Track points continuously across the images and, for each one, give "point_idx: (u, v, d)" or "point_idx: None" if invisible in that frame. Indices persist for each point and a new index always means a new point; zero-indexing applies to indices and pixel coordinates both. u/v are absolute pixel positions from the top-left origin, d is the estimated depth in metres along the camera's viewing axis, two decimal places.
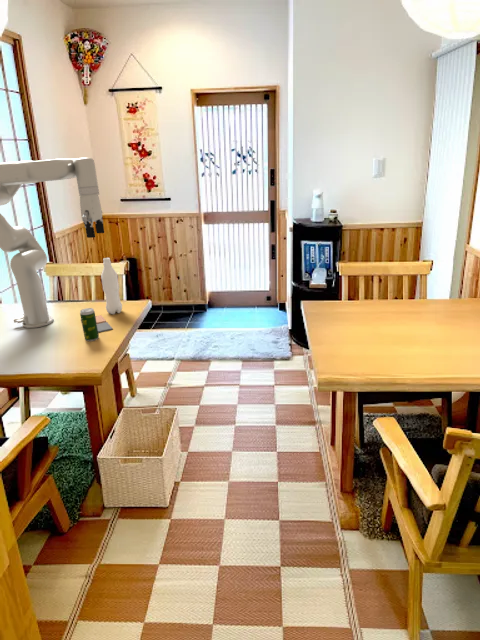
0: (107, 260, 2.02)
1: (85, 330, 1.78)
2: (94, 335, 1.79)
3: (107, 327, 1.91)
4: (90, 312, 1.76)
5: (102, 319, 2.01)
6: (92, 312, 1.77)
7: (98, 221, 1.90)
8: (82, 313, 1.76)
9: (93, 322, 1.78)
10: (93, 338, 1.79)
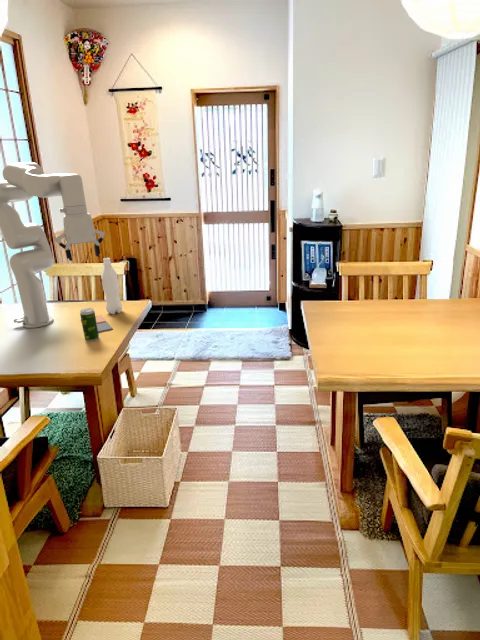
0: (107, 260, 2.02)
1: (85, 330, 1.78)
2: (94, 335, 1.79)
3: (107, 327, 1.91)
4: (90, 312, 1.76)
5: (102, 319, 2.01)
6: (92, 312, 1.77)
7: None
8: (82, 313, 1.76)
9: (93, 322, 1.78)
10: (93, 338, 1.79)
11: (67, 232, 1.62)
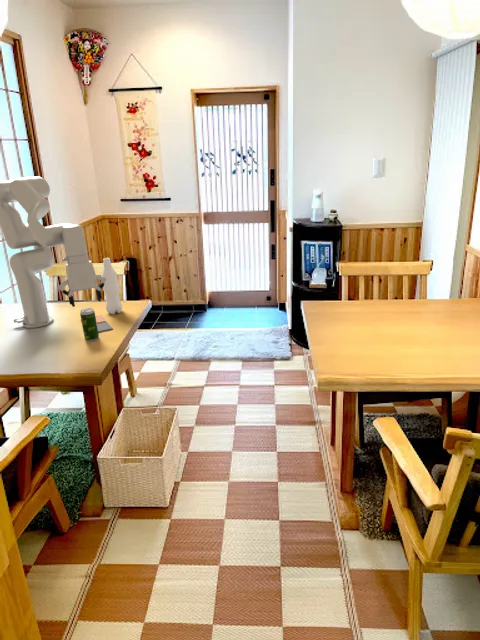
0: (107, 260, 2.02)
1: (85, 330, 1.78)
2: (94, 335, 1.79)
3: (107, 327, 1.91)
4: (90, 312, 1.76)
5: (102, 319, 2.01)
6: (92, 312, 1.77)
7: None
8: (82, 313, 1.76)
9: (93, 322, 1.78)
10: (93, 338, 1.79)
11: (70, 280, 1.69)
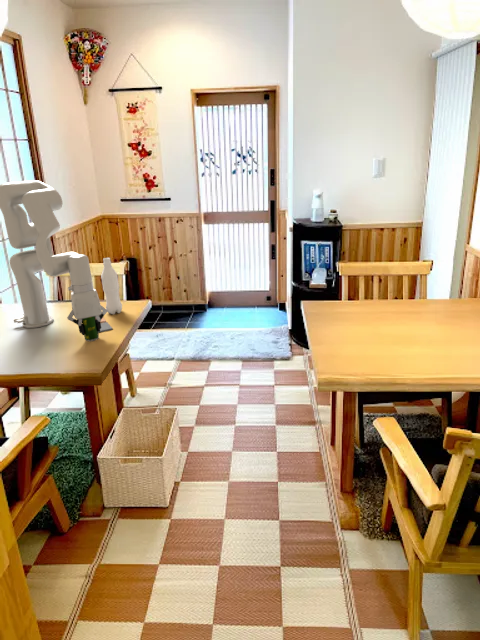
0: (107, 260, 2.02)
1: (85, 330, 1.78)
2: (94, 335, 1.79)
3: (107, 327, 1.91)
4: None
5: (102, 319, 2.01)
6: None
7: None
8: None
9: (93, 322, 1.78)
10: (93, 338, 1.79)
11: (75, 308, 1.73)
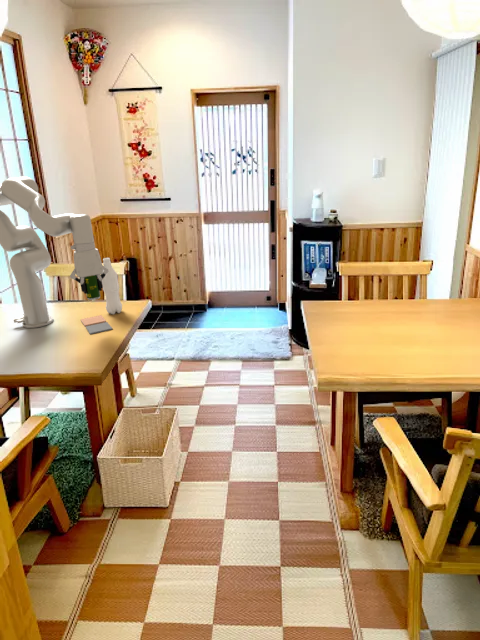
0: (107, 260, 2.02)
1: (87, 289, 1.84)
2: (96, 293, 1.85)
3: (107, 327, 1.91)
4: None
5: (102, 319, 2.01)
6: None
7: None
8: None
9: (95, 281, 1.84)
10: (95, 297, 1.85)
11: (77, 267, 1.79)
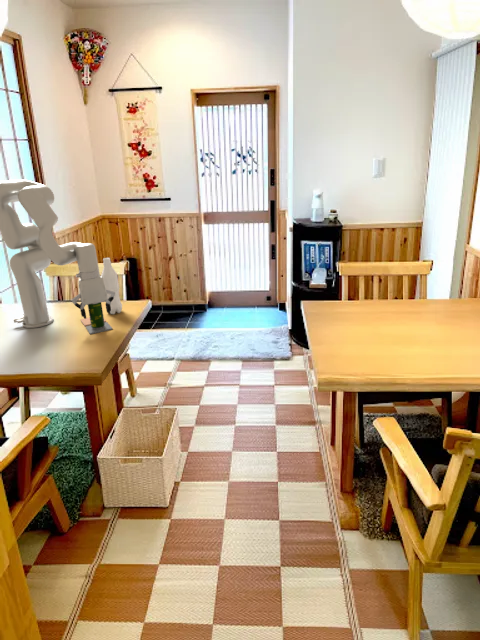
0: (107, 260, 2.02)
1: (92, 318, 1.88)
2: (100, 323, 1.90)
3: (107, 327, 1.91)
4: None
5: None
6: None
7: None
8: None
9: (100, 311, 1.88)
10: (99, 326, 1.90)
11: (82, 294, 1.83)
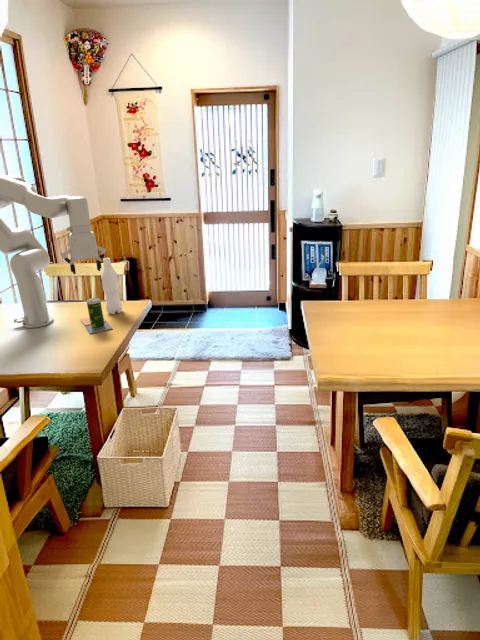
0: (107, 260, 2.02)
1: (92, 319, 1.88)
2: (100, 323, 1.90)
3: (107, 327, 1.91)
4: (96, 301, 1.87)
5: None
6: (98, 301, 1.87)
7: None
8: (89, 302, 1.86)
9: (99, 311, 1.88)
10: (99, 326, 1.90)
11: (72, 249, 1.80)
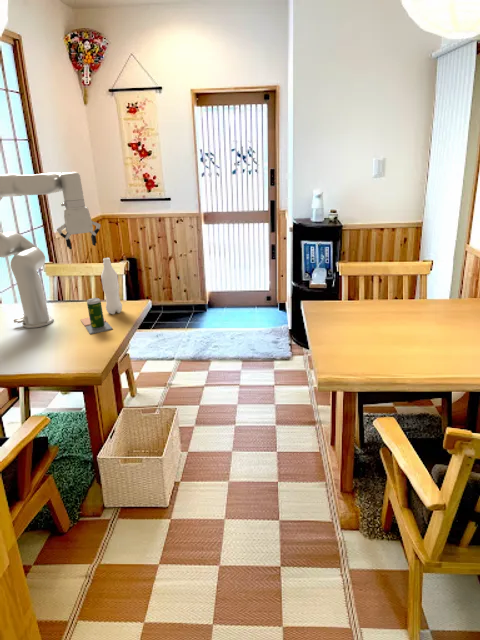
0: (107, 260, 2.02)
1: (92, 319, 1.88)
2: (100, 323, 1.90)
3: (107, 327, 1.91)
4: (97, 301, 1.86)
5: None
6: (98, 301, 1.87)
7: None
8: (89, 302, 1.86)
9: (99, 311, 1.88)
10: (99, 326, 1.90)
11: (67, 223, 1.84)
